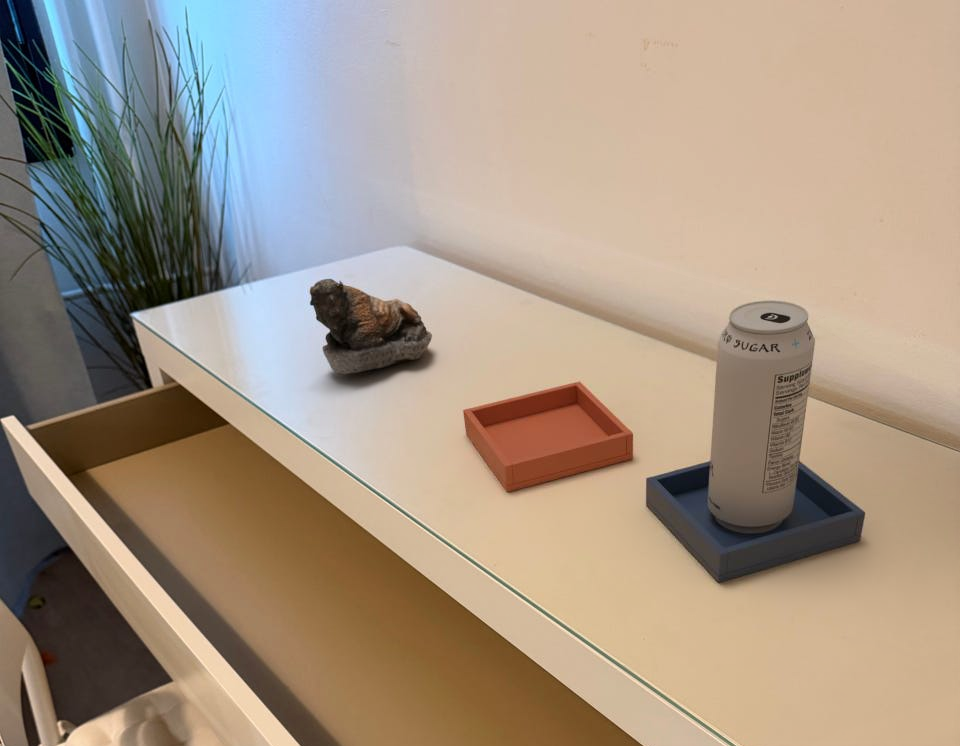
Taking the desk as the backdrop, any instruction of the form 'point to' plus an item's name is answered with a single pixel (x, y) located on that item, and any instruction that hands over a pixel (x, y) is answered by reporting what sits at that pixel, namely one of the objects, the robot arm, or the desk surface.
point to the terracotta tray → (547, 435)
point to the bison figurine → (366, 328)
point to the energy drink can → (759, 414)
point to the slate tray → (730, 554)
